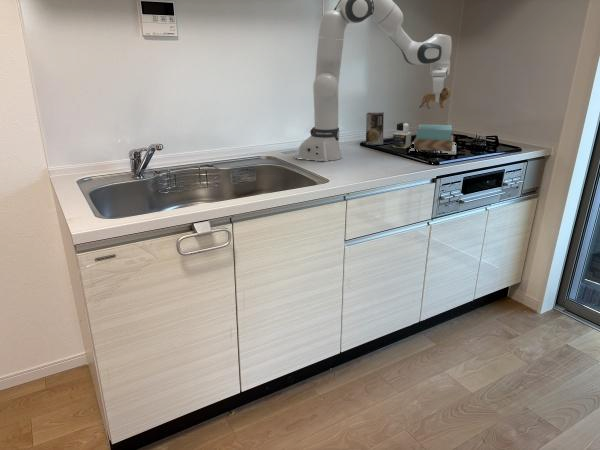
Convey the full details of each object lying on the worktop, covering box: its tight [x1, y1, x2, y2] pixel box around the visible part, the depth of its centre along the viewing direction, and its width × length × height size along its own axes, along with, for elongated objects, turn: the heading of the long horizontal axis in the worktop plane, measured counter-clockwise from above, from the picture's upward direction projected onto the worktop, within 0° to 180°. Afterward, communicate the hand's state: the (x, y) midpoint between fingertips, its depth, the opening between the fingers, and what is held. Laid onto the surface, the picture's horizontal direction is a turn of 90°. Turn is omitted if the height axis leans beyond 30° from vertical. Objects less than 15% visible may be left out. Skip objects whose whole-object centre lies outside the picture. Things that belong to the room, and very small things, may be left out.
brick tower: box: [408, 124, 457, 155], centre depth 223 cm, size 22×22×11 cm
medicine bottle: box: [392, 122, 412, 149], centre depth 229 cm, size 7×7×12 cm
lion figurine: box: [418, 86, 451, 110], centre depth 213 cm, size 15×5×9 cm, turn 81°
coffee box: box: [365, 112, 385, 145], centre depth 237 cm, size 9×6×16 cm
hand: (437, 101), depth 213 cm, fingers closed on lion figurine, 4 cm apart
